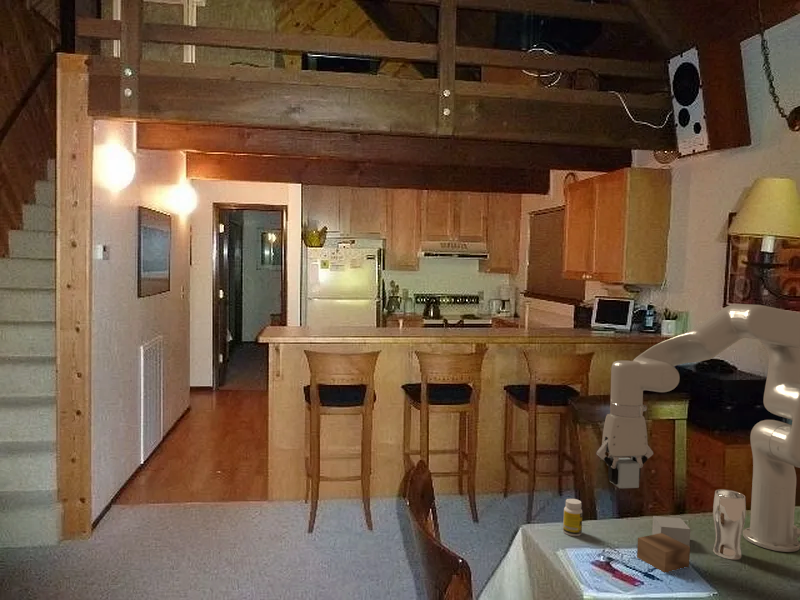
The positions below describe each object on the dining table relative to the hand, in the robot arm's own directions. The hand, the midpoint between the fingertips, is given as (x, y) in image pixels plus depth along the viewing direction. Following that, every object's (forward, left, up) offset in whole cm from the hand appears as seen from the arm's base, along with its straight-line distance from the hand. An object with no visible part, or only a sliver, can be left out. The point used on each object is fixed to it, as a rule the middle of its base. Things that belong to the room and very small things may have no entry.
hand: (624, 481), depth 145 cm
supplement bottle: (+9, -8, -17) cm, 21 cm away
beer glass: (-25, +6, -16) cm, 30 cm away
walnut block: (-6, +9, -17) cm, 20 cm away
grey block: (-15, -2, -16) cm, 22 cm away
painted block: (0, 0, -1) cm, 1 cm away
